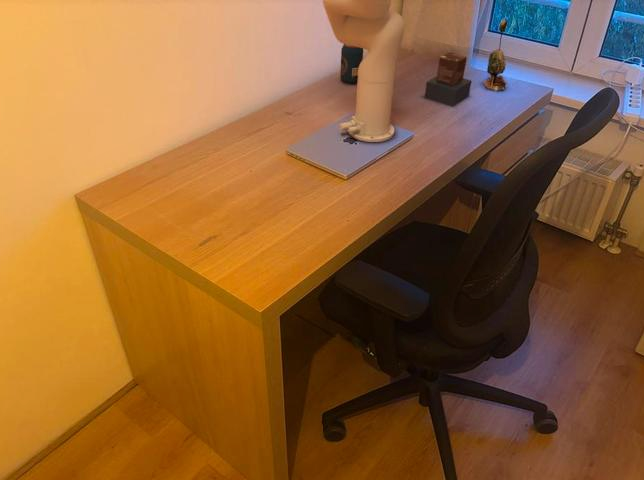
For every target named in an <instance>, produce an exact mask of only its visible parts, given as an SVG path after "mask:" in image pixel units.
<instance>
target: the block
mask: <svg viewBox="0 0 644 480" xmlns="http://www.w3.org/2000/svg"><path fill="white" fill-rule="evenodd" d="M436 80H437V75H436V76H433V78H431V79H429V80H427V81H426V84H425V91H424V99H428V100H431V101H433V102H434V101H436V102H439V103H441V104H444V105H446V106H451V107H455V106H456V105H457V104H460V103H461V102H462V101H464V100H465V99H467V98H469V96H470V91H471V87H472V80H471V79H467V78H464V77H463V80H462V81H461V82H459V83H457V84H455V85H453V86H452V85H449V84H446V83H442V82H439V81H436Z"/></svg>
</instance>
